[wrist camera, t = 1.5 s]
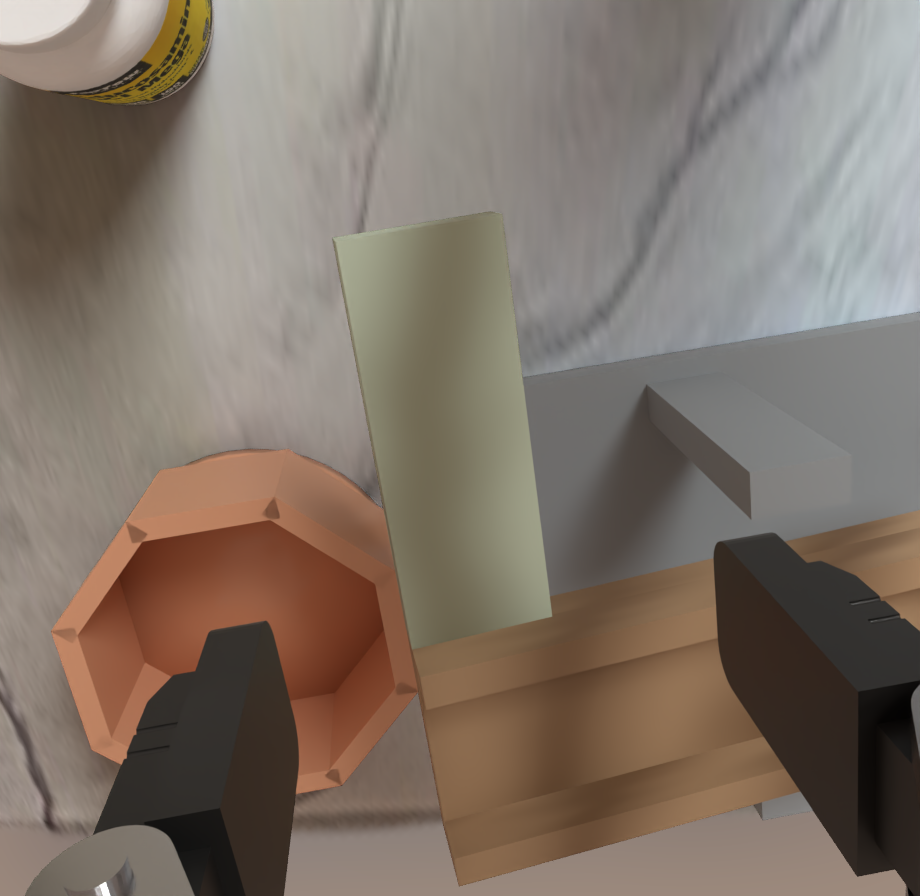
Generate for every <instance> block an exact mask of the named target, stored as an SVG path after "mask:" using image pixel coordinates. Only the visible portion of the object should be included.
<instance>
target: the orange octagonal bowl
mask: <svg viewBox="0 0 920 896" xmlns="http://www.w3.org/2000/svg"><path fill="white" fill-rule="evenodd" d="M260 621H267V622H268V623H269V624H270V626H271V629H272V631H273V634H274V638H275V642H276V646H277V650H278V654H279V658H280V662H281V666H282V670H283V674H284V678H285V682H286V686H287V690H288V694H289V698H290V702H291V706H292V710H293V715H294V719H295V724H296V729H297V736H298V746H299V771H298V779H297V788H296V794H299V793H304V792H310V791H315V790H321V789H326V788H332V787H337V786H342V785H343V784H344V782H345V781H346V780H347V779H348V777H349V776H350V775H351V774H352V773H353V771H354V770H355V769H356V768H357V766H358V765H359V764H360V763H361V761H362V760H363V759H364V758H365V757H366V755H367V754H368V753H369V752H370V750H371V749H372V748H373V747H374V745H375V744H376V743H377V742H378V741H379V739H380V738H381V737H382V736H383V734H384V733H385V732H386V731H387V730H388V728H389V727H390V726H391V725H392V723H393V722H394V721H395V720H396V718H397V717H398V716H399V715H400V714H401V712H402V711H403V710H404V709H405V707H406V706H407V705H408V704H409V702H410V701H411V700H412V699H413V698H414V696H415V695H416V694H417V693H418V689H417V683H416V678H415V673H414V667H413V662H412V657H411V652H410V646H409V641H408V636H407V630H406V626H405V621H404V615H403V610H402V605H401V599H400V594H399V589H398V584H397V578H396V573H395V568H394V562H393V557H392V552H391V546H390V541H389V536H388V531H387V525H386V520H385V515H384V510H383V509H382V508H380V507H379V506H377V505H376V504H375V503H374V501H373V500H372V499H371V498H370V497H369V496H368V495H367V494H366V493H365V492H364V491H363V490H362V489H361V488H360V487H359V486H358V485H357V484H355V483H354V482H352V481H351V480H350V479H348V478H347V477H346V476H344V475H343V474H341V473H340V472H338V471H336V470H334V469H332V468H331V467H329V466H327V465H325V464H323V463H320V462H318V461H315V460H313V459H310V458H308V457H304V456H301V455H297V454H296V453H294V452H292V451H291V450H289V449H284V450H278V451H276V450H269V449H243V450H234V451H226V452H222V453H218V454H214V455H209V456H206V457H204V458H201V459H198V460H196V461H193V462H190V463H188V464H187V465H185V466H182V467H176V468H170V469H164V470H160V471H159V472H158V474H157V475H156V477H155V478H154V480H153V481H152V483H151V484H150V486H149V487H148V489H147V490H146V492H145V493H144V495H143V496H142V498H141V499H140V500H139V502H138V503H137V505H136V506H135V508H134V509H133V511H132V512H131V514H130V515H129V517H128V518H127V520H126V521H125V522H124V524H123V525H122V527H121V528H120V530H119V531H118V533H117V534H116V536H115V537H114V539H113V540H112V542H111V543H110V545H109V546H108V547H107V549H106V550H105V552H104V553H103V555H102V556H101V558H100V559H99V561H98V562H97V564H96V565H95V566H94V568H93V569H92V571H91V572H90V574H89V575H88V577H87V578H86V580H85V581H84V583H83V584H82V586H81V587H80V589H79V590H78V592H77V593H76V595H75V596H74V598H73V599H72V601H71V602H70V604H69V605H68V607H67V608H66V610H65V611H64V613H63V614H62V616H61V617H60V619H59V620H58V622H57V623H56V625H55V626H54V628H53V629H52V631H51V633H52V636H53V638H54V641H55V644H56V647H57V650H58V653H59V656H60V659H61V662H62V665H63V668H64V671H65V673H66V676H67V679H68V682H69V685H70V688H71V691H72V694H73V697H74V700H75V703H76V705H77V708H78V711H79V714H80V717H81V720H82V723H83V726H84V729H85V732H86V735H87V738H88V740H89V743H90V746H91V749H92V750H93V751H95V752H97V753H99V754H101V755H103V756H105V757H107V758H109V759H111V760H113V761H115V762H117V763H119V764H121V765H122V763H123V760H124V759H127V750H128V748H129V745H130V743H131V740H132V738H133V736H134V735H136V728H137V726H138V723H139V721H140V718H141V716H142V714H143V711H144V709H145V706H146V704H147V702H148V701H149V699H150V698H151V697H152V696H153V695H154V694H155V693H156V692H157V691H158V690H159V689H160V688H161V687H162V686H163V685H164V684H165V683H166V682H167V681H168V680H169V679H170V678H171V677H172V676H173V675H176V674H181V673H187V672H193V671H195V670H196V667H197V664H198V662H199V659H200V656H201V653H202V650H203V647H204V644H205V641H206V638H207V635H208V633H209V632H210V631H211V630H215V629H220V628H226V627H232V626H237V625H243V624H249V623H254V622H260Z"/></svg>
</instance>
